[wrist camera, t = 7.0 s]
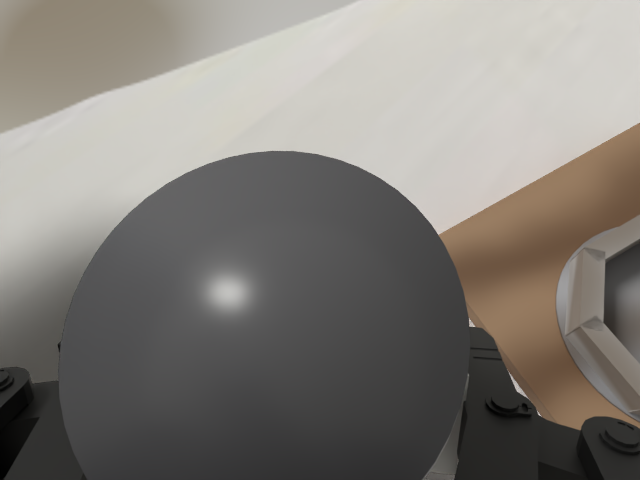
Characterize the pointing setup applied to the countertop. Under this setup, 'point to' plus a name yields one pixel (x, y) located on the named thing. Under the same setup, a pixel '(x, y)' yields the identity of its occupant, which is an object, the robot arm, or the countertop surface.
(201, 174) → the dome-topped grey cylinder
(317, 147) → the countertop surface
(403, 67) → the countertop surface
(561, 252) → the mount board
